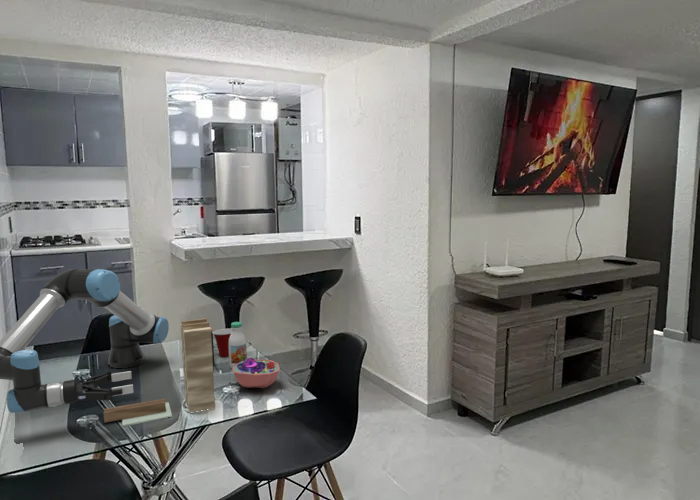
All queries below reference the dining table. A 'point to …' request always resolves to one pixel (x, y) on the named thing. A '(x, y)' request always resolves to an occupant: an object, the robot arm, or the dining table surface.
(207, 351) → the wooden block tower
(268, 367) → the cell model
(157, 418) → the mat
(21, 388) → the robot arm
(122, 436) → the dining table surface
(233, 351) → the milk bottle
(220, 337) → the plastic cup
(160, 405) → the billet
